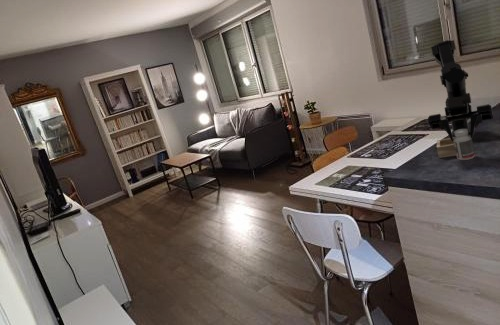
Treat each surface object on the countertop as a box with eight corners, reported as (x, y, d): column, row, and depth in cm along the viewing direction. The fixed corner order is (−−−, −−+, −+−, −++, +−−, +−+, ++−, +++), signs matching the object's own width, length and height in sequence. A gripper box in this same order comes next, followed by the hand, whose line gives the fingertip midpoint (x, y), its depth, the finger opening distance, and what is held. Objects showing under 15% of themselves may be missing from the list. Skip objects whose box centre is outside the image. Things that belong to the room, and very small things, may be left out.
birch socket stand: (438, 150, 136) (436, 140, 135) (464, 145, 131) (462, 135, 130) (438, 157, 129) (436, 147, 128) (466, 153, 124) (464, 143, 123)
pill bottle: (478, 154, 120) (473, 127, 118) (470, 160, 118) (465, 132, 115) (461, 154, 125) (456, 128, 123) (453, 160, 122) (448, 133, 120)
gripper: (422, 94, 124) (425, 133, 118) (486, 79, 113) (493, 122, 107) (430, 109, 132) (433, 147, 126) (490, 97, 121) (496, 138, 115)
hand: (461, 139), depth 119 cm, fingers closed on pill bottle, 5 cm apart
